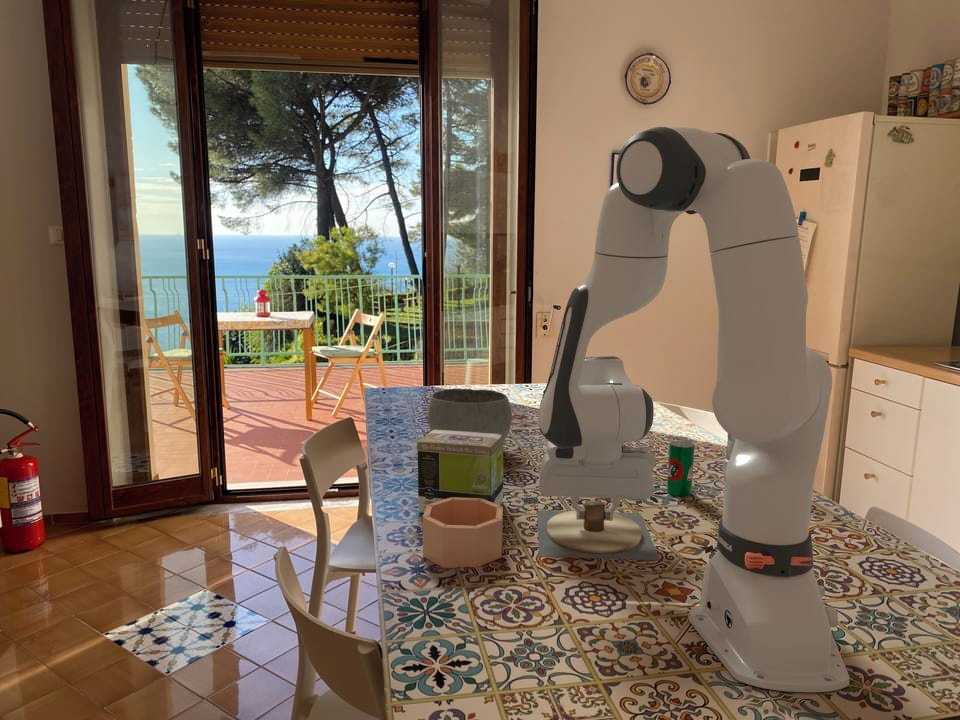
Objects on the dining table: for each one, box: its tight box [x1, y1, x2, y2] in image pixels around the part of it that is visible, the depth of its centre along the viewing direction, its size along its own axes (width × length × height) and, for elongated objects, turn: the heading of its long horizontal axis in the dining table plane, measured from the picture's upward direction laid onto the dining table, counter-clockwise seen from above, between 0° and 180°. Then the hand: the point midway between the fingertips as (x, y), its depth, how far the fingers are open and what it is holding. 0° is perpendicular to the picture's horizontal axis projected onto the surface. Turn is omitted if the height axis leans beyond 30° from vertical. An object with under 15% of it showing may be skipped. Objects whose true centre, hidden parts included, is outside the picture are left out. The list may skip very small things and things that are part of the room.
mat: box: [536, 509, 661, 561], centre depth 128 cm, size 20×20×1 cm
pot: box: [422, 497, 504, 569], centre depth 121 cm, size 13×13×7 cm
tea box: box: [416, 429, 504, 514], centre depth 139 cm, size 15×10×15 cm
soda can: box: [666, 436, 696, 498], centre depth 147 cm, size 5×5×12 cm
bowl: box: [427, 388, 513, 442], centre depth 174 cm, size 20×20×15 cm
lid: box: [546, 500, 642, 554], centre depth 127 cm, size 17×17×6 cm
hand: (594, 519), depth 127 cm, fingers closed on lid, 4 cm apart
